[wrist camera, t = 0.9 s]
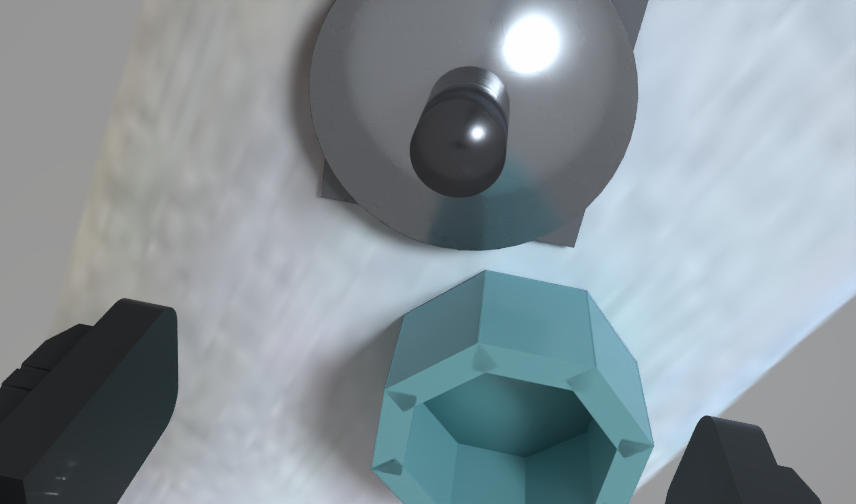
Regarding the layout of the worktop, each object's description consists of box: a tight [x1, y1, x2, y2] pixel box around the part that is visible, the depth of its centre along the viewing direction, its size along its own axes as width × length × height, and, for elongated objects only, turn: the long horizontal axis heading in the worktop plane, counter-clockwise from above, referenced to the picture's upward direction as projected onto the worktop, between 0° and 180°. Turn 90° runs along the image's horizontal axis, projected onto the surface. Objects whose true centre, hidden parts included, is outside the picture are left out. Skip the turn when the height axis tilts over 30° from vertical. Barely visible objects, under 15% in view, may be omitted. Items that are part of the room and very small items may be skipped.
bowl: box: [371, 270, 654, 504], centre depth 30 cm, size 10×10×5 cm
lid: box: [309, 0, 638, 251], centre depth 23 cm, size 11×11×5 cm
